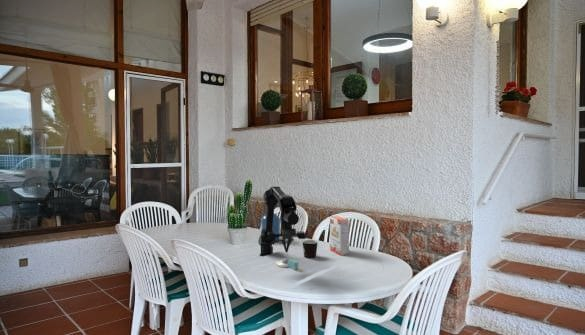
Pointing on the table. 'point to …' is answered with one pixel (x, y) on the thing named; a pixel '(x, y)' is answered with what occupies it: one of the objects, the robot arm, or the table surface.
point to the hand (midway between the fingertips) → (286, 252)
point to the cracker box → (339, 235)
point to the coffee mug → (309, 248)
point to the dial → (287, 264)
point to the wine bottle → (275, 224)
